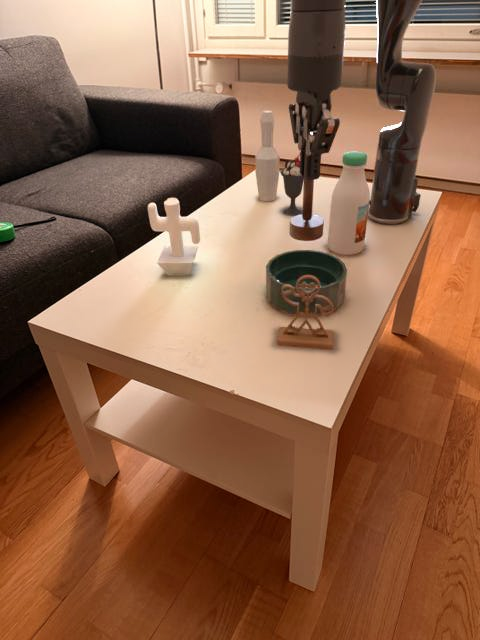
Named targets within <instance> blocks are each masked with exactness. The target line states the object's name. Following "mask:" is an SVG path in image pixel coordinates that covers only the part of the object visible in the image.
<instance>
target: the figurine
mask: <svg viewBox="0 0 480 640" xmlns="http://www.w3.org/2000/svg"><path fill="white" fill-rule="evenodd" d="M163 206H164V211H165V213H166V216H160V215H159V213H158V208H157V204H156V203H155V202H150V203H148V205H147V214H148V218H149V224H150V225H149V226H150V228H151V230H152V231H154V232H168V236H169V242H170V245H164V246H163V248H162V250H161V252H160V255H159V258H158V260H157V262H156V263H157V265H158V266H159V268H161V269H162V270H163V272H165V274H166V276H190V274H191V271H192V268H193V266H194V262H195V260H196V257H197V253H198V249H199V244H200V242H201V233H200V232H201V231H200V224H199V221H198V218H197V217H195V216H181V214H180V213H181V212H180V211H181V206H180V201H179V199H178V198H177V197H168V198H167V199H166V200H165V201H164V202H163ZM183 232H189V233H190V236H191V242H192V244H193V245H185V244H184V237H183Z"/></svg>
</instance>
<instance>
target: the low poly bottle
mask: <svg viewBox="0 0 480 640" xmlns="http://www.w3.org/2000/svg"><path fill="white" fill-rule="evenodd" d="M259 122H260V131H261V146H260V148H259V150H258V151H257V153H256V154H255V155H254V163H255V167H254V169H255V177H256V178H255V179H256V180H255V181H256V186H257V194H258V199H259V200H260V201H262V202H273V201H275V200H277V194H278V186H279V178H280V164H281V163H280V157H281V155H280V154H279V153H278V151H277V150H276V148H275V147H274V129H275V127H274V126H275V117H274V115H273V111H272V110H262V112H261V116H260V121H259Z"/></svg>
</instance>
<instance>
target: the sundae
mask: <svg viewBox="0 0 480 640" xmlns="http://www.w3.org/2000/svg"><path fill="white" fill-rule="evenodd" d="M279 174H280V176H282V179H283V188H284V192H285V195H286V196H287V197H288V198H289V199H290V205H289V206H288V207H284V208H283V210H282V212H283V213H284V214H286V215H288V216H296V215H301V213H302V209H303V208H301V207H299V206H296V199H297V198H298V197H300V195H301V194H302V191H303V186H304V176H302V175H301V174H300V153H299V154H298V155H297V156H296V157H294V159H291V160H285V162H284V169H281V170H279Z"/></svg>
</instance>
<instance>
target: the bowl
mask: <svg viewBox="0 0 480 640" xmlns="http://www.w3.org/2000/svg"><path fill="white" fill-rule="evenodd" d="M304 275H312V276H315V277H316V278H317V279H318V280H319V281H320V291H319V293H318V294H317V295H322V296H325V297H327V298H328V299H329V300H330V301H331V302H332V304H333V311H334V310H337V309H338V308H339V307H340V306H341V305H342V304H343V302H344V299H345V297H346V295H345V294H346V287H347V277H348V268H347V265H346V263H345V262H343V260H342V259H340V258H339V257H337V256H335V255H333V254H332V253H328V252H324V251H321V250H315V249H294V250H288V251H284V252H282V253H279V254H276V255H275V256H274V257H272V258H271V259H270V260H268V262H267V264H266V266H265V295H266V299H267V301H268V302H269V304H270V305H271V306H272V307H274V308H275V309H277V310H278V311H281V312H283V313H285V314H289V315H295V316H296V315H297V306H294V305H291V304H289V303H287V302H286V301H285V300H284V299H283V297H282V294H281V289H282V286H284V285H285V284H290V285H292V286H293V287H294V291H295V293H298V292H297V290H296V283H297V280H298V279H299V278H300V277H301V276H304ZM302 282H306V283H307V284H310V283H311V282H314V283H315V285H318V283H317V282H316V281H315V280H313V279H310V278H305V279H303V280H301V281H300V282H299V283H298V284H302ZM301 287H302V286H298V288H299V290H300V291H301ZM314 288H315V291H314V292H316V291H317V289H318V287H314ZM303 289H305V290H307V291H310V290H312V289H313V288H310V287H306V288H303ZM286 290H287V291H289V290H291V289H290V288H284V289H283V291H284V292H285V291H286ZM301 292H302V291H301ZM314 292H313V293H314ZM298 294H299V293H298ZM311 294H312V293H311ZM305 296H307V294H305ZM309 296H310V294H309V295H308V297H309ZM286 298H287V299H289V300H290V301H292V302H297V303H299V312H301V313H302V312H304V313H305V308H306V306H305V302H306V301H304V302H302V297H296V296H294V295H293V294H289V295H287V294H286ZM315 304H319V305H321V306H322V308H323V307H326V306H328V307H329V305H330V304H329V303H328V302H327V301H325V300H323V299H320V298H313V302H310V301H309V306H308V308H309V313H315ZM323 312H325V313H329V312H331V310H330V309H329V311H328V310H326V311H323ZM320 315H322V314H321V310H320V308H318V307H317V313H316V316H320Z"/></svg>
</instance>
